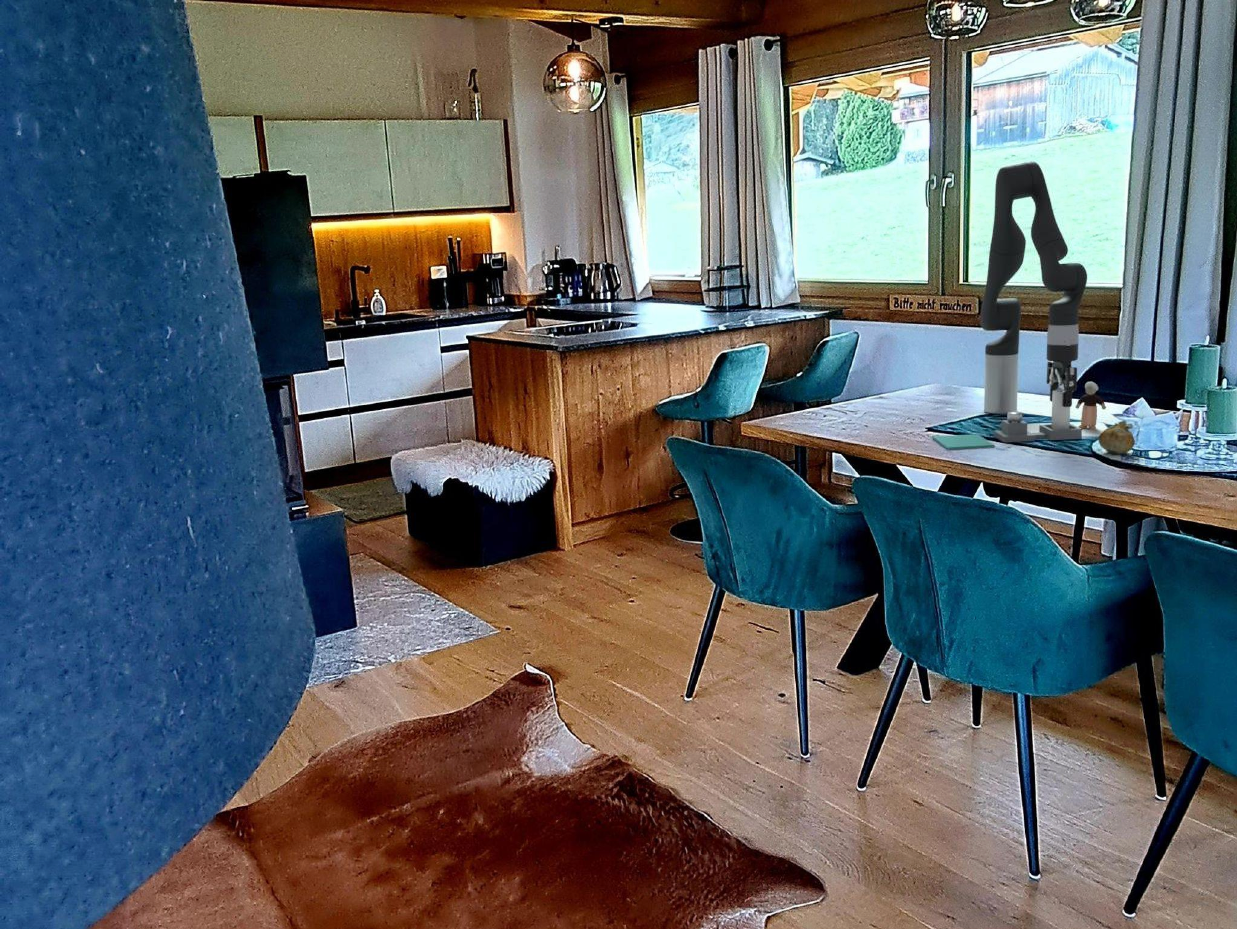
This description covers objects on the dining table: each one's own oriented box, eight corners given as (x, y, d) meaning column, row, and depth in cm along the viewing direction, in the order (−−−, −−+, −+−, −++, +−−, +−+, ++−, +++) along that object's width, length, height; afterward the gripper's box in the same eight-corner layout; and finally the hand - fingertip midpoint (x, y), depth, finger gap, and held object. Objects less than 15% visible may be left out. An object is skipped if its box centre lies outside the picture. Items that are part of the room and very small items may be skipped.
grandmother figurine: (1073, 429, 289) (1075, 382, 286) (1074, 426, 292) (1076, 380, 289) (1104, 430, 285) (1106, 383, 283) (1105, 427, 289) (1107, 380, 286)
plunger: (1005, 428, 283) (1005, 411, 282) (1018, 427, 283) (1019, 411, 282) (1009, 431, 279) (1010, 414, 278) (1023, 430, 279) (1024, 413, 278)
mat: (932, 438, 287) (932, 436, 287) (977, 436, 287) (977, 434, 287) (947, 449, 273) (947, 447, 273) (994, 447, 273) (994, 444, 273)
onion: (1097, 449, 265) (1099, 417, 263) (1133, 450, 262) (1135, 418, 260) (1098, 456, 258) (1099, 423, 256) (1134, 457, 255) (1136, 424, 253)
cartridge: (1048, 435, 283) (1050, 388, 281) (1065, 434, 283) (1066, 387, 281) (1054, 438, 279) (1056, 390, 276) (1071, 437, 279) (1073, 389, 276)
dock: (993, 436, 286) (994, 419, 285) (1069, 432, 285) (1070, 415, 284) (1003, 442, 278) (1004, 425, 277) (1081, 438, 277) (1082, 421, 276)
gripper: (1038, 340, 283) (1036, 400, 286) (1058, 345, 269) (1056, 409, 272) (1066, 338, 283) (1064, 399, 286) (1088, 344, 269) (1086, 407, 272)
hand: (1060, 404), depth 279 cm, fingers open, 8 cm apart
